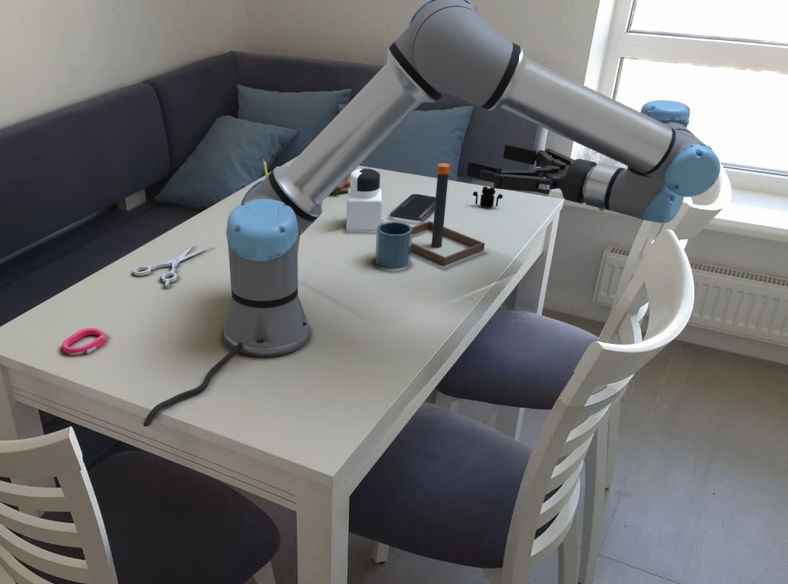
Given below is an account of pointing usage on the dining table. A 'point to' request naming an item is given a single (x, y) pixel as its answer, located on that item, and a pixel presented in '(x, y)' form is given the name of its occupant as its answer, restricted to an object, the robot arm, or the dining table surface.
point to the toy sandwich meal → (343, 186)
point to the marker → (440, 204)
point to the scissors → (170, 263)
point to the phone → (415, 207)
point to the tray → (475, 244)
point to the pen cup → (393, 244)
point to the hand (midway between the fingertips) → (487, 159)
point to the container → (364, 200)
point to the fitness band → (86, 348)
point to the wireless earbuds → (487, 197)
